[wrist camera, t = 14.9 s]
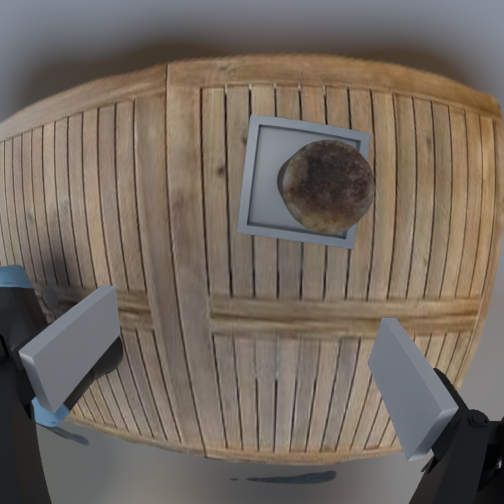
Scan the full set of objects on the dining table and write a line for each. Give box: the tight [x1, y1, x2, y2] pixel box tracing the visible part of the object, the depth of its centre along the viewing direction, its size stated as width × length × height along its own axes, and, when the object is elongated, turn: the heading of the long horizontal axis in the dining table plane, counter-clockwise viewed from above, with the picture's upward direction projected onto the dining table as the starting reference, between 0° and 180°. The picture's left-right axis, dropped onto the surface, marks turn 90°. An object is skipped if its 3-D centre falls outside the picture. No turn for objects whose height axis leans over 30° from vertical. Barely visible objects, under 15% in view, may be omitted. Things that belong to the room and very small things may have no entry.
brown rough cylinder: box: [277, 140, 375, 234], centre depth 30 cm, size 8×7×20 cm
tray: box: [237, 115, 370, 249], centre depth 38 cm, size 16×16×3 cm
